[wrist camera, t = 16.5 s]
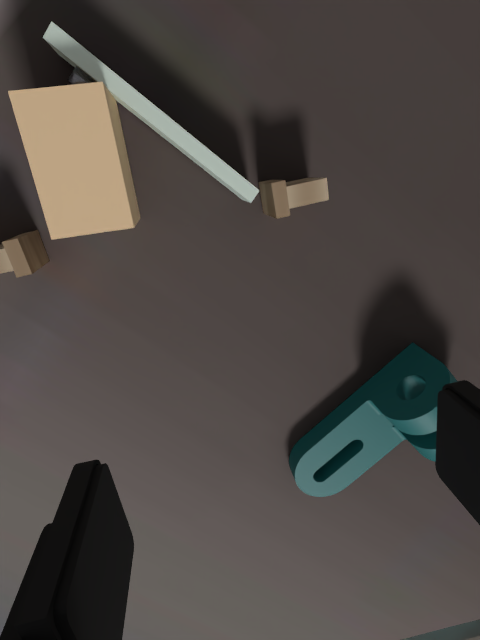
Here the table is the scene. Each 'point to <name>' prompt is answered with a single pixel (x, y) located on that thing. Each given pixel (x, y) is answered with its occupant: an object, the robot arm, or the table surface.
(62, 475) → the table surface
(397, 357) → the bracket
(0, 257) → the oak fence
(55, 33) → the sage gate
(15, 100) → the block
